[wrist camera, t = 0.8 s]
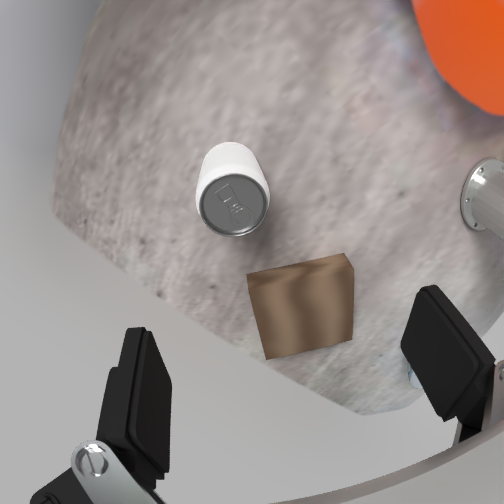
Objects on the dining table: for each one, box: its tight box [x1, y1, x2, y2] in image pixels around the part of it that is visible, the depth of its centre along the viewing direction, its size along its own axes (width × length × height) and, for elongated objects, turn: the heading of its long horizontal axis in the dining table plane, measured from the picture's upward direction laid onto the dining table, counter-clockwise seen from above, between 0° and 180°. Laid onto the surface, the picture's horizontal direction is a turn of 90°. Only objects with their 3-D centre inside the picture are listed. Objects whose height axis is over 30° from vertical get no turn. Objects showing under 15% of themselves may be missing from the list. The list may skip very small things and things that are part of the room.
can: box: [196, 142, 270, 237], centre depth 31 cm, size 6×6×12 cm
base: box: [246, 253, 354, 360], centre depth 45 cm, size 14×14×4 cm
